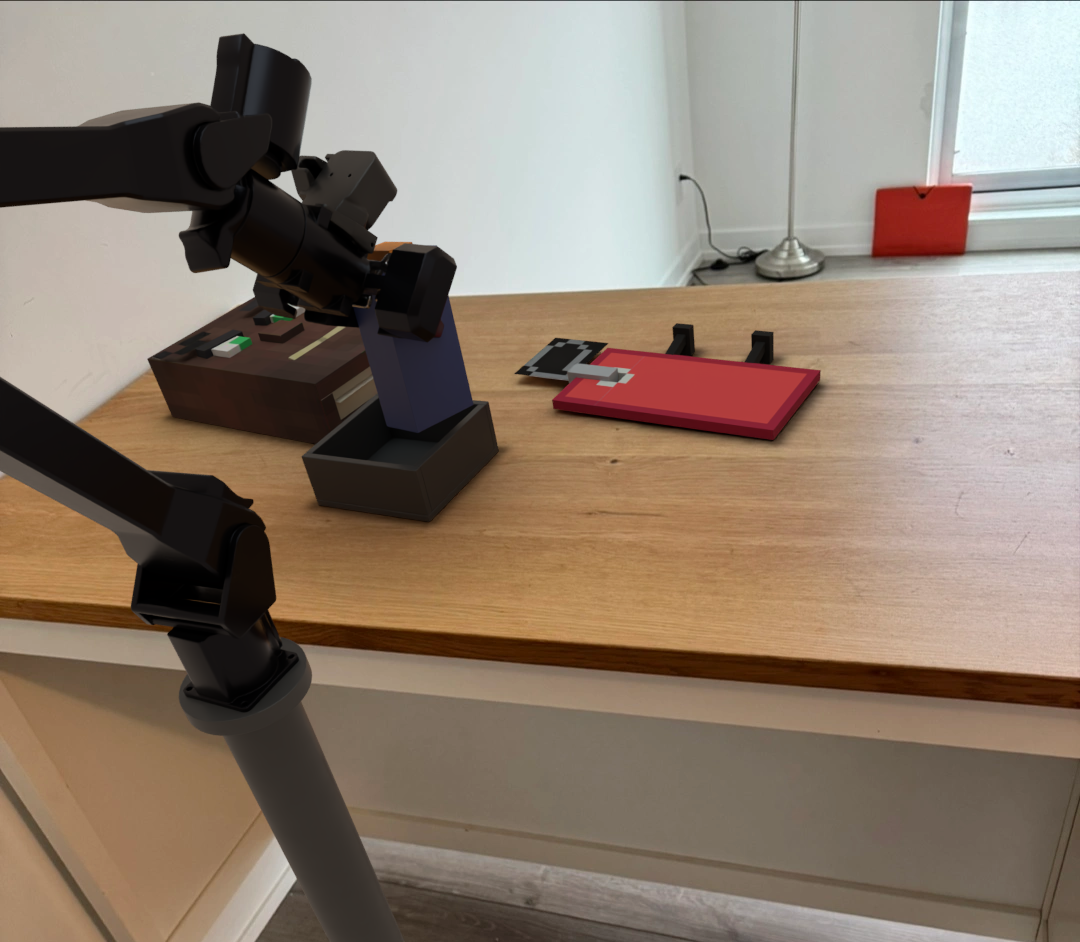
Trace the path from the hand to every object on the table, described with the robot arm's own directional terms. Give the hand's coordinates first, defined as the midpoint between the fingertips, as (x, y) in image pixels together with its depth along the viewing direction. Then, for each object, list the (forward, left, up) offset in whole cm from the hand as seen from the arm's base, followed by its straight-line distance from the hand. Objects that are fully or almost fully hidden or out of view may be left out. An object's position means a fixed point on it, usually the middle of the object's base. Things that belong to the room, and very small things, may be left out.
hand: (420, 327), depth 84 cm
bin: (-2, +4, -13) cm, 14 cm away
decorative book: (+11, +27, -14) cm, 32 cm away
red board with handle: (+19, -12, -14) cm, 26 cm away
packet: (-2, 0, -7) cm, 7 cm away
